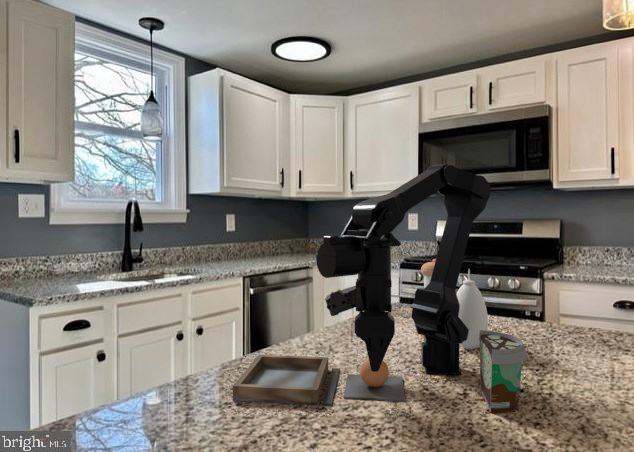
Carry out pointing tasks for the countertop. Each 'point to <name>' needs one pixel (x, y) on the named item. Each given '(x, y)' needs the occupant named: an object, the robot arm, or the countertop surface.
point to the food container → (500, 370)
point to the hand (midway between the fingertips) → (374, 361)
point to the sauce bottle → (472, 312)
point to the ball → (374, 374)
